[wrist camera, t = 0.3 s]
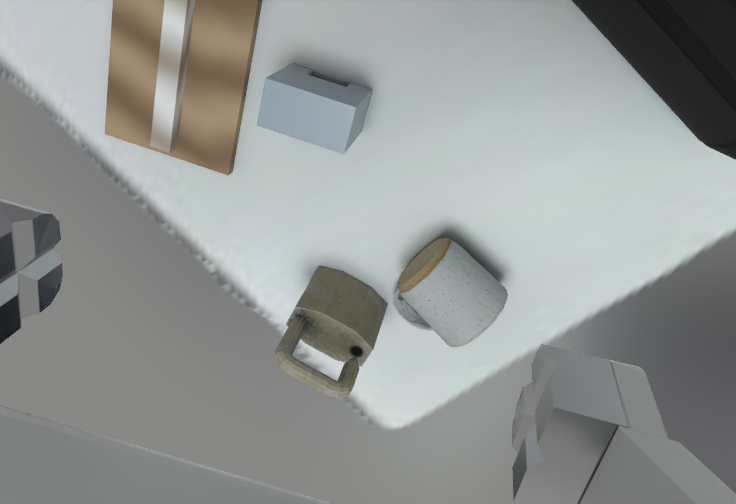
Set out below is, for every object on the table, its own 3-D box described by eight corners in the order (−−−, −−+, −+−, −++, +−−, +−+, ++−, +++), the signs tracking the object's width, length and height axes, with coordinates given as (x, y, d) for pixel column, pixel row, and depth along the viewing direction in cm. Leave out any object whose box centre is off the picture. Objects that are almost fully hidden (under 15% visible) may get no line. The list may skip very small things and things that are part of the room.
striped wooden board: (125, -91, 52) (108, -92, 50) (269, -45, 51) (259, -45, 49) (110, 131, 61) (95, 138, 59) (232, 172, 61) (222, 180, 59)
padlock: (373, 325, 66) (341, 420, 52) (306, 287, 65) (257, 374, 52) (391, 298, 64) (362, 389, 50) (322, 259, 63) (275, 341, 50)
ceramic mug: (449, 220, 59) (441, 256, 52) (509, 276, 60) (509, 318, 53) (377, 285, 64) (361, 326, 57) (434, 335, 65) (425, 381, 58)
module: (292, 63, 55) (265, 78, 49) (372, 89, 55) (356, 107, 48) (283, 106, 57) (256, 125, 51) (361, 131, 56) (343, 154, 50)
